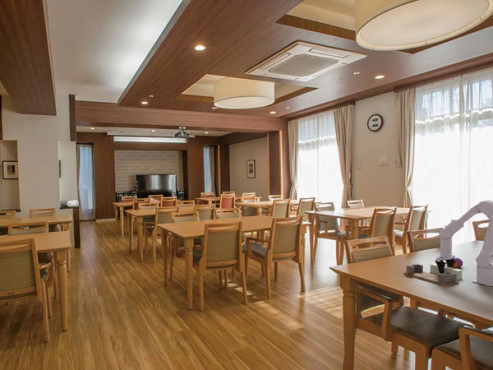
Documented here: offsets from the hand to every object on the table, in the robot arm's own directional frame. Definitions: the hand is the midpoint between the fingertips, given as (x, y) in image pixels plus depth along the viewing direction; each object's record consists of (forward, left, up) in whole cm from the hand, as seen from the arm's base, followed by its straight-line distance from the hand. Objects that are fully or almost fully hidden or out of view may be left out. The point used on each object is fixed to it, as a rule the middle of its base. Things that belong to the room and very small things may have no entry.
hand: (445, 272), depth 192 cm
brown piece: (+6, -17, -2) cm, 18 cm away
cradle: (0, +14, -2) cm, 14 cm away
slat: (0, 0, -2) cm, 2 cm away
